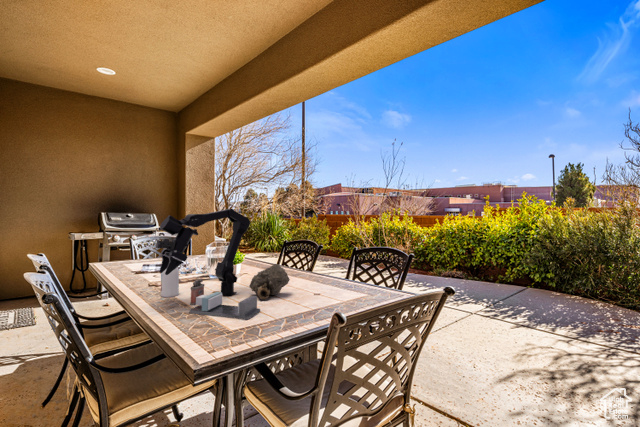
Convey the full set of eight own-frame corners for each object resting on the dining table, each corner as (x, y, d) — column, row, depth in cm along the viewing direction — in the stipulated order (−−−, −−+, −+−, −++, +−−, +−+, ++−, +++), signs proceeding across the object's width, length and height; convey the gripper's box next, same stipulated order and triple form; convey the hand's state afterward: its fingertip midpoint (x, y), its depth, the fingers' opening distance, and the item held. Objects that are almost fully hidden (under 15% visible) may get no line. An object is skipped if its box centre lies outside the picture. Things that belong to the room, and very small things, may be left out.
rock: (275, 258, 157) (271, 257, 142) (294, 279, 155) (292, 281, 141) (247, 283, 154) (240, 284, 140) (266, 305, 153) (261, 309, 138)
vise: (204, 305, 132) (205, 291, 132) (260, 311, 125) (260, 296, 125) (189, 313, 122) (189, 297, 122) (248, 319, 116) (248, 303, 115)
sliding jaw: (206, 302, 132) (206, 290, 132) (223, 304, 130) (223, 292, 130) (190, 309, 122) (191, 296, 122) (208, 311, 120) (208, 298, 120)
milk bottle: (182, 294, 150) (182, 253, 150) (169, 298, 143) (170, 255, 143) (169, 292, 153) (170, 252, 152) (156, 296, 145) (157, 254, 145)
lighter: (195, 305, 132) (195, 282, 132) (188, 304, 133) (188, 281, 133) (206, 300, 140) (206, 278, 140) (199, 299, 141) (199, 277, 141)
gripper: (158, 231, 137) (139, 264, 131) (170, 231, 123) (149, 267, 117) (182, 242, 143) (164, 274, 137) (195, 243, 129) (176, 278, 123)
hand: (163, 273), depth 129 cm, fingers open, 9 cm apart
